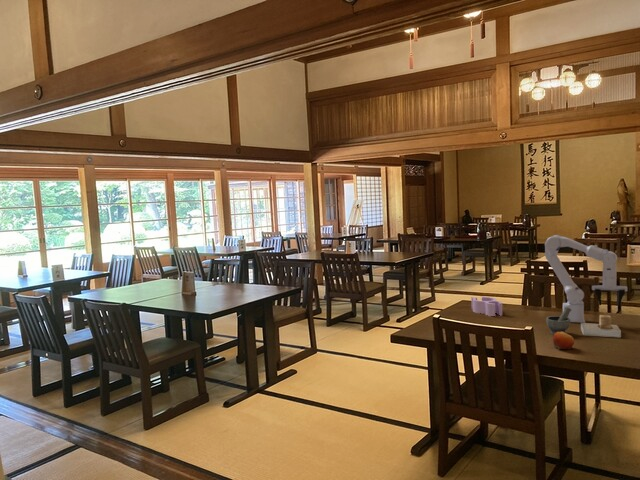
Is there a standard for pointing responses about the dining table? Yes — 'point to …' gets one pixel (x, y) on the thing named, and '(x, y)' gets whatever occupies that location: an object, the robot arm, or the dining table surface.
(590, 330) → the white rectangular slab
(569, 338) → the fruit
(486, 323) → the dining table surface
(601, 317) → the peg
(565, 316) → the mortar and pestle
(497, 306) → the clip
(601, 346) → the dining table surface
